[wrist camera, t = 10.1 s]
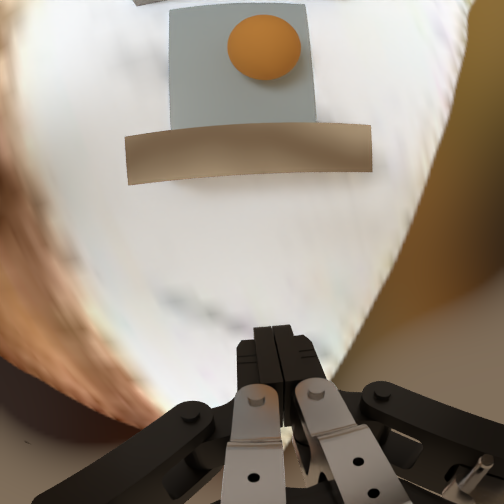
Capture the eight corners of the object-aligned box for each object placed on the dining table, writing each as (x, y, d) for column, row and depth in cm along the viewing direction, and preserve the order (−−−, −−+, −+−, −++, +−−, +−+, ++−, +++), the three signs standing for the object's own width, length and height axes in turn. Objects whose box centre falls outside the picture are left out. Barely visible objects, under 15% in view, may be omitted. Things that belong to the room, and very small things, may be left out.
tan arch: (327, 167, 27) (372, 172, 18) (163, 176, 26) (128, 185, 17) (326, 135, 26) (370, 125, 17) (161, 144, 26) (124, 137, 16)
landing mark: (171, 132, 25) (171, 131, 25) (169, 10, 21) (169, 10, 21) (315, 124, 26) (316, 124, 26) (304, 5, 22) (304, 4, 22)
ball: (230, 91, 24) (232, 70, 19) (223, 35, 23) (223, 4, 17) (296, 85, 25) (315, 66, 19) (287, 31, 23) (301, 2, 17)
